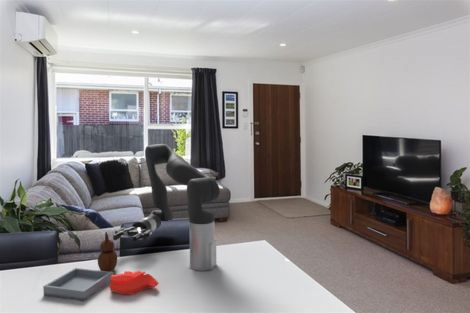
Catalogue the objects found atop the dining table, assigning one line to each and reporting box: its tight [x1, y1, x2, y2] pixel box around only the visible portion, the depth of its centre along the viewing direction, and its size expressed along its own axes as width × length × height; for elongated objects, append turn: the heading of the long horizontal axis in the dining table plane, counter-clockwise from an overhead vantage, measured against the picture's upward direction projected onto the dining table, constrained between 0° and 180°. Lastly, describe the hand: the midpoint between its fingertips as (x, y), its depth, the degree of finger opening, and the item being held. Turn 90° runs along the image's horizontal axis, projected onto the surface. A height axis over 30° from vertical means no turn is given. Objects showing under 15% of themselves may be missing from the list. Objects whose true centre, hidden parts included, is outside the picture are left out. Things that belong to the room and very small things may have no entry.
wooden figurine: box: [97, 231, 118, 272], centre depth 126 cm, size 7×6×15 cm
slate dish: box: [42, 267, 114, 302], centre depth 114 cm, size 15×15×3 cm
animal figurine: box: [109, 270, 159, 295], centre depth 113 cm, size 12×15×5 cm
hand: (123, 238), depth 137 cm, fingers open, 8 cm apart
